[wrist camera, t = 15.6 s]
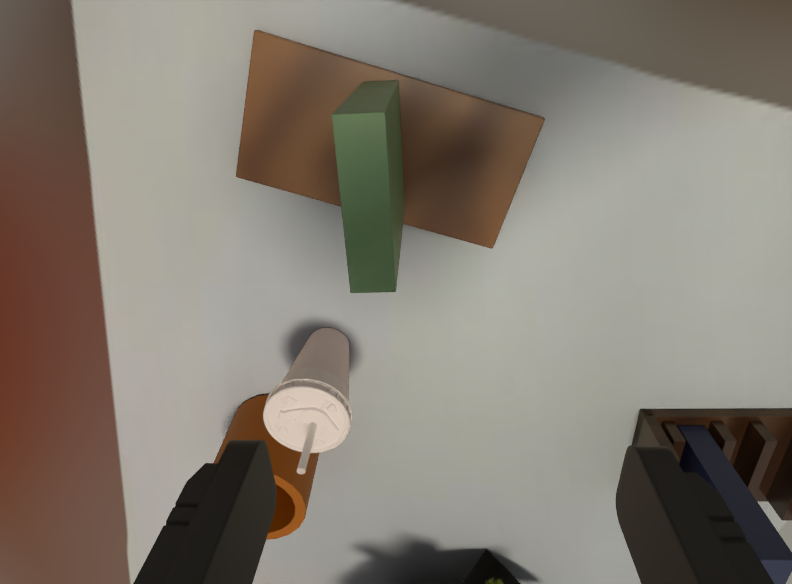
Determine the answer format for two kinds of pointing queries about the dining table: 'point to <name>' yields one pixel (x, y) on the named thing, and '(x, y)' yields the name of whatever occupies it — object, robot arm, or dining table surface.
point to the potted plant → (489, 572)
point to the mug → (275, 467)
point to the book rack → (734, 445)
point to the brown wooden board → (420, 133)
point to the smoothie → (313, 398)
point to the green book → (371, 184)
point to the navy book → (736, 499)
